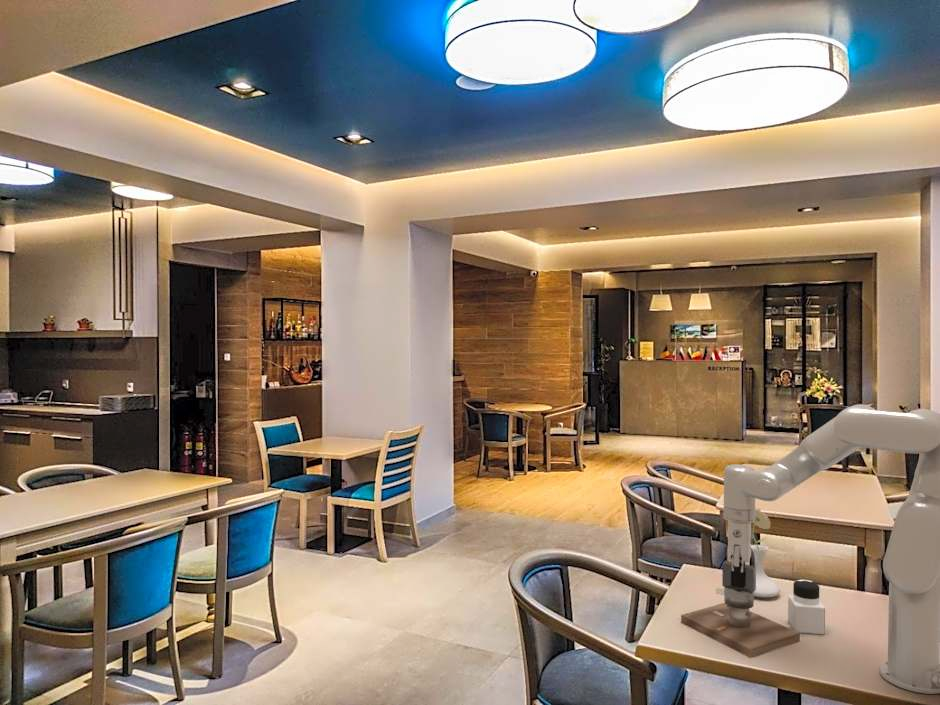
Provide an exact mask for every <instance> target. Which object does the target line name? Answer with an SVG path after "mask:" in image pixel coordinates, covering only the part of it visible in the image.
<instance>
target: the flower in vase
mask: <svg viewBox="0 0 940 705" xmlns="http://www.w3.org/2000/svg"><path fill="white" fill-rule="evenodd" d="M752 524H753V525H752V526H753V527H752V529H751V540H754V542H755V544H751V552H752V553H753V556H754V566H755V567H756V590H755V591H754V597H757V598H773V597H777V596H778V595H779V594H780V593H781V589H780V586H779V585H778V584H777V583H776V582H775V581H774V580H772V578H770V577H769V576H768V575H767V574H766V573H765V571H764V560H765V555H766V553H767V551H769V547H767V546H766V545H761V544H758V543H761V542H764V541H765V540H766V539H767V537H766V538H761V539H758V540H756V538H755V534H754V532H755V531H754V530H755V528H756V526H757V527H759V528H760V529H762V530H768V529H770V530H771V519H769V516H768V515H767V514H765V512H763V511H762V510H761V509H760V508H756V507H755V521H754V522H752Z"/></svg>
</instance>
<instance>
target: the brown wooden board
mask: <svg viewBox="0 0 940 705" xmlns="http://www.w3.org/2000/svg"><path fill="white" fill-rule="evenodd" d="M680 622H681V623H682V624H683V623H684V625H685V624H686V626H687V627H690V628H691V629H694V630H695V631H698V632H700V633H701V634H703V635H706V636H708V637H709V638H712V639H713V640H715V641H717V642H719V643H721V644H723V645H725V646H727V647H728V648H731V649H733V650H735V651H736V652H739V653H741V654H743V655H744V656H747V657H749V658H750V659H751V658H754V657H756V656H760V655H763V654H765V653H768V652H769V653H770V652H771V651H774V650H777V649H780V648H783V647H785V646H788V645H792V644H794V643H797V642H800V641H801V633H799V632H797V631H795V630H794V629H793V628H790V627H788V626H785V625H784V624H781V623H778V622H776V621H774V620H771V619H769V618H767V617H765V616H762V615H760V614H758V613H756V612H753V611H751V610H750V608H749V609H739V608H734V607H731V606H728V605H727V604H725V602H723V603H722V602H721V603H719V604H715V605H712V606H711V605H710V606H708V607H705V608H704V607H703V608H701V609H697V610H694V611H691V612H687V613H684V614H680Z"/></svg>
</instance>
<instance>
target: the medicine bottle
mask: <svg viewBox="0 0 940 705" xmlns="http://www.w3.org/2000/svg"><path fill="white" fill-rule="evenodd" d="M792 589H793V591H792V594H791V595H790V594H788V596H787V598H788V600H787V622H788V623H789V625H790V626H791V629H792V630H795V631H797V632H799V633H800V634H810V635H811V634H814V635H826V632H825V631H826V607H825V606H824V605H823V603H822V602H821V601H820V586H819V584H818V583H817V582H814V581H813V580H807V579H798V580H795V581H794V582H793V588H792Z"/></svg>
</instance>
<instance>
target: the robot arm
mask: <svg viewBox="0 0 940 705" xmlns="http://www.w3.org/2000/svg"><path fill="white" fill-rule="evenodd" d="M861 448H864V449H871V450H880V451H887V452H894V453H896V452H897V453H902V454H903V453H904V454H916V455H917V454H918V455H919V456H918V461H917V464H916V465H917V466H916V468H915V471H914V475H913V476H914V477H913V479H912V483H911V487H910V490H909V493H908V496H907V497H906V499H905V500H904V501H903V503H902V504H901V506H900V507H899V509H898V511H897V513H896V516H895V520H894V523H893V526H892V529H891V533H890V535H889V536H890V537H889V540H888V543H887V547H886V551H885V555H884V557H883V562H882V568H883V574H884V576H885V578H886V580H887V581H888V583H889V586H888V616H887V617H888V622H887V625H888V627H887V628H888V629H887V630H888V632H887V633H888V634H887V661H884V662H882V663H881V664H880V665H879V673H880V676H882V678H883V679H884V680H885V681H887V682H889V683H890V684H892V685H894V686H896V687H899V688H900V689H904V690H907V691H909V692H914V693H920V694H928V695H937V694H940V413H938V412H937V411H934V410H931V409H929V408H928V409H926V408H917V409H914V410H911V411H909V412H896V411H883V410H877V409H875V408H874V407H872V406H870V405H867V404H861V403H860V404H854V405H851V406H849V407H847V408H844V409H843V410H841V411H840V412H839V413H837V415H836V416H835V417H833V418H832V419H830V420H829V421H827V422H826V423H825V424H823V425H822V426H820V427H819V428H817V429H816V430H815V431H813V432H812V433H810V434H808V435H807V436H806V437H805V438H803V439H802V441H801V442H800V444H799V445H798V446H797V447H796V448H794V449H793V450H792V451H790V452H789V453H788V454H786V455H785V456H783V457H782V458H780V459H779V460H778V461H776V462H775V463H773V464H771V465H769V466H768V467H766V468H764V469H760V470H755V469H754V467H752V466H750V465H746V464H738V463H737V464H729V465H726V466H725V467H724V471H723V519H724V520H726V521H728V522H727V546H728V547H727V549H728V550H727V551H728V552H727V553H728V559H729V561H731V562H732V570H731V586H733V587H739V588H744V583H745V572H743V570H744V564H745V565H746V563H748V562H750V561H751V557H752V549H751V545H752V539H751V534H752V524H753V522H754V521H755V508H756V499H757V500H760V501H763V502H775V501H777V500H779V499H780V498H782V497H783V496H784V495H786V494H787V493H789V492H790V491H792V490H793V489H795V488H796V487H798V486H800V485H801V484H802V483H804V482H805V481H807V480H808V479H811V477H813V476H815V475H817V474H818V473H819V472H822V471H826V470H829V469H830V468H831V467H832V466H835V465H836V464H838V463H839V462H841V461H842V460H844V459H845V458H847V457H849V455H851V454H853V453H854V452H856V451H857V450H860V449H861ZM739 563H740V564H739Z"/></svg>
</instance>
